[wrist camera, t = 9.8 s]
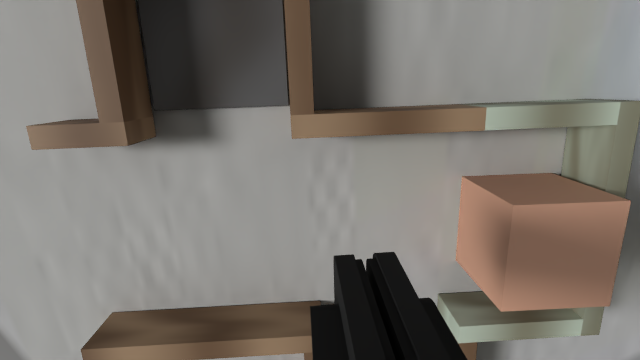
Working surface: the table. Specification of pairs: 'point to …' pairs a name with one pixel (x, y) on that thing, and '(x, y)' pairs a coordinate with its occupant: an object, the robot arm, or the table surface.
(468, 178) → the block
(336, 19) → the table surface
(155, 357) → the wooden zigzag frame
